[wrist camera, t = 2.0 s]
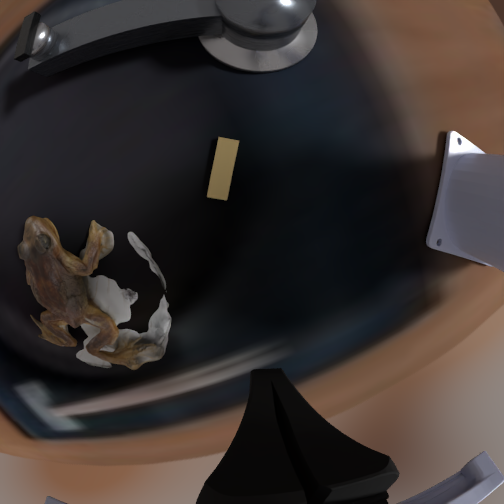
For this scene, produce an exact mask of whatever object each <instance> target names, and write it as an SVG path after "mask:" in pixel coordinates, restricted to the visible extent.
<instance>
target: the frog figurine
mask: <svg viewBox="0 0 504 504" xmlns="http://www.w3.org/2000/svg"><path fill="white" fill-rule="evenodd" d="M128 240H129V242H130V244H131V245H132V246H133V247H134V249H135V250H136V251H137V253H138V254H139V255H140V256H141V257H143V258H145V259H146V260H148V261H149V264H150V268H151V270H152V271H153V272H154V273H156V274H157V275H158V276H159V278H160V280H161V284H162V286H163V287H164V289H166V282H165V279H164V277H163V275H162V273H161V271H160V269H159V267H158V265H157V264H156V263H155V261H154V260H153V259H152V256H151V253H150V251H149V249H148V248H147V247H146V246H145V245H144V244H143V242H141V241H140V240H139V238H138V237H137V236H136V235H135V234H134V233H132V232H129V233H128ZM113 247H114V237H113V233H112V232H111V231H108V230H107V229H106V228H105V227H102V226H100V225H99V224H97V223H96V222H95V221H94V220H93V221H91V225H90V228H89V237H88V239H87V243H86V248H85V249H83V250H82V251H81V252H80V256H79V258H78V257H76V256H75V255H73V254H72V253H70V252H68V251H66V250H65V249H63V248H62V246H61V243H60V240H59V235H58V232H57V229H56V227H55V226H54V224H53V223H52V222H51V221H50V220H49V219H48V218H40V217H36V216H31V217H29V218H28V219H27V220H26V222H25V230H24V235H23V241H22V242H21V243H20V244H19V245H18V254H19V257H20V259H23V260H24V262H25V266H26V278H27V283H28V285H30V286H31V289H32V292H33V294H34V296H35V298H36V300H37V301H38V303H40V304H41V305H42V306H43V307H45V308H46V309H47V310H46V311H44V312H42V313H41V319H40V320H41V322H42V323H41V322H39V321H37V320H36V319H35V318H34V317H33V316H32V315H31V314H30V316H31V318H32V319H33V321H34V322H35V323H36V324H37V325H38V326H39V328H40V329H41V330H42V334H39V335H38V336H39V337H40V338H43V339H45V340H47V341H50V342H51V343H53V344H56V345H59V346H66V347H67V346H71V347H73V346H75V347H76V345H77V341H76V339H75V338H73V337H72V336H71V335H70V334H69V331H68V326H67V324H69V325H71V326H72V327H73V328H77V327H78V326H80V325H81V327H82V328H83V330H84V331H85V333H86V334H87V335H88V338H87V339H85V340H84V349H83V350H80V351H79V352H78V353H77V354H76V357H77V358H79V359H80V360H81V361H83V362H86V363H87V364H89V365H93V366H100V367H102V368H110V367H112V365H111V364H110V363H109V362H111V363H114V364H121V365H125V366H127V367H128V368H130V369H132V370H136V369H138V368H139V367H140V366H141V365H142V364H143V363H146V362H150V361H156V360H159V359H161V358H162V356H163V355H164V353H165V349H166V345H167V342H168V332H169V329H170V327H171V317H170V315H169V313H168V311H167V308H168V307H169V304H168V303H167V301H166V298H165V295H164V296H163V298H162V299H161V301H160V306H159V308H158V310H157V311H156V312H155V313H154V314H153V315H152V317H151V319H150V321H149V330H148V331H147V332H145V333H141V334H138V333H137V332H136V331H133V330H130V329H122V330H120V329H118V328H117V325H118V324H119V323H121V322H127V321H129V320H130V317H131V311H130V305H131V304H133V303H134V302H135V301H136V300H137V299H138V294H137V292H135V293H134V292H133V291H132V290H131V289H129V288H128V289H127V290H125V289H120V288H119V287H118V285H117V283H116V282H115V281H114V280H113V279H108V278H107V277H105V276H103V275H98V276H97V277H94V278H91V277H89V276H88V275H90V274H92V273H93V270H94V269H96V268H97V267H98V261H99V260H100V259H102V258H103V257H105V256H106V255H108V254H109V253H110V252H111V251H112V249H113ZM166 292H167V291H166ZM129 295H130V296H129Z"/></svg>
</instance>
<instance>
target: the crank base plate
mask: <svg viewBox="0 0 504 504" xmlns="http://www.w3.org/2000/svg"><path fill="white" fill-rule="evenodd" d="M198 37H199V40H200V42H201V44H202V46H203V47H204V49H205V50H206V51H207V52H208V53H209V54H210V55H211V56H212V57H213V58H214V59H216V60H217V61H219V62H220V63H222V64H224V65H226V66H228V67H230V68H233V69H236V70H240V71H244V72H251V73H271V72H277V71H281V70H284V69H287V68H289V67H292V66H294V65H295V64H297V63H299V62H300V61H301V60H303V59H304V58H305V57H306V56H307V55H308V53H309V52H310V51H311V49H312V48H313V46H314V44H315V41H316V38H317V24H316V20H315V18H314V15H313V14H312V13H311V14H310V16H309V17H308V19H307V21H306V22H305V24H304V26H303V27H302V29H301V31H300V32H299V34H298V36H297V37H296V38H295V40H293V41H292V42H291V43H290V44H288V45H286V46H285V47H282V48H280V49H276V50H271V51H253V50H248V49H244V48H241V47H238V46H236V45H234V44H232V43H231V42H229V41H228V40H227V39H225V38H224V37H223V36H222V35H221V34H219V35H207V36H198Z"/></svg>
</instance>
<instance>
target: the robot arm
mask: <svg viewBox="0 0 504 504" xmlns="http://www.w3.org/2000/svg"><path fill="white" fill-rule="evenodd" d="M457 140H458V143H457ZM437 241H438V243H437ZM426 244H427V246H428V247H430V248H432V249H436V250H439V251H443V252H446V253H449V254H453V255H456V256H459V257H463V258H466V259H469V260H472V261H476V262H479V263H482V264H485V265H488V266H491V267H495V268H497V269H499V270H501V271H503V272H504V155H496V154H486V153H484V152H483V151H482V150H480V149H479V148H478V147H476V146H475V145H474V144H472V143H471V142H470V141H468V140H467V139H465V138H464V137H462V136H461V135H459V134H458V133H457V132H455V131H449V132H448V133H447V139H446V147H445V154H444V161H443V167H442V173H441V179H440V184H439V189H438V194H437V198H436V203H435V207H434V212H433V216H432V220H431V224H430V227H429V231H428V235H427V238H426ZM398 477H399V472H398V470H397V468H396V466H395V464H394V463H393V461H392V460H391V458H390V457H389V456H387V455H385V454H382V453H380V452H377V451H375V450H372V449H370V448H368V447H366V446H364V445H362V444H360V443H358V442H356V441H355V440H353V439H351V438H350V437H348V436H347V435H345V434H343V433H342V432H340V431H339V430H338V429H336V428H335V427H334V426H332V425H331V424H330V423H328V422H327V421H326V420H325V419H324V418H323V417H322V416H321V415H320V414H318V413H317V412H316V411H315V410H314V409H313V408H312V407H311V405H310V404H309V403H308V402H307V401H306V400H305V399H304V398H303V396H302V395H301V394H300V393H299V392H298V391H297V389H296V388H295V387H294V385H293V384H292V383H291V381H290V380H289V379H288V377H287V376H286V374H285V373H284V371H283V370H282V369H281V368H277V369H253V370H252V371H251V375H250V393H249V399H248V403H247V406H246V410H245V413H244V416H243V419H242V421H241V424H240V426H239V428H238V431H237V433H236V435H235V437H234V439H233V441H232V443H231V445H230V447H229V448H228V450H227V452H226V453H225V455H224V457H223V458H222V460H221V461H220V463H219V464H218V466H217V467H216V469H215V470H214V471H213V472H212V474H211V475H210V476H209V477H208V479H207V480H206V481H205V483H204V486H203V488H202V490H201V492H200V494H199V496H198V499H197V502H196V504H388V502H387V500H386V499H388V497H389V495H388V493H387V491H386V490H387V489H388V488H389V487H390V486H391V485H392V484H393V483H394V482H395V481H396V480H397V478H398ZM503 482H504V476H503V475H502V473H501V472H500V470H499V469H498V468H497V466H496V465H495V463H494V462H493V461H492V459H491V458H490V457H489V455H488V454H487V452H486V451H483V452H482V453H480V454H479V455H477V456H476V457H475V458H473V459H472V460H470V461H469V462H468V463H467V464H466V465H465V466H464V467H463V468H462V469H461V471H459V472H457V473H456V474H454V475H452V476H451V477H449V478H447V479H446V480H444V481H442V482H440V483H438V484H437V485H435V486H433V487H431V488H429V489H427V490H426V491H423V492H421V493H419V494H417V495H415V496H413V497H411V498H409V499H406V500H404V501H402V502H400V503H397V504H478V503H479V502H480V501H482V500H483V499H484V498H485V497H487V496H488V495H489V494H490V493H491V492H492V491H494V490H495V489H496V488H497V487H498V486H499V485H501V484H502V483H503ZM45 504H67V503H64V502H62V501H59V500H57V499H55V498H52V497H50V496H47V498H46V501H45Z"/></svg>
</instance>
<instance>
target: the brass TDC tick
mask: <svg viewBox="0 0 504 504" xmlns="http://www.w3.org/2000/svg"><path fill="white" fill-rule="evenodd" d="M238 144H239V141H238V140H232V139H227V138H221V137H219V139H218V143H217V148H216V153H215V158H214V163H213V168H212V173H211V178H210V183H209V188H208V194H207V197H210V198H215V199H221V200H227V198H228V193H229V188H230V183H231V178H232V173H233V168H234V163H235V158H236V154H237V149H238Z"/></svg>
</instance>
